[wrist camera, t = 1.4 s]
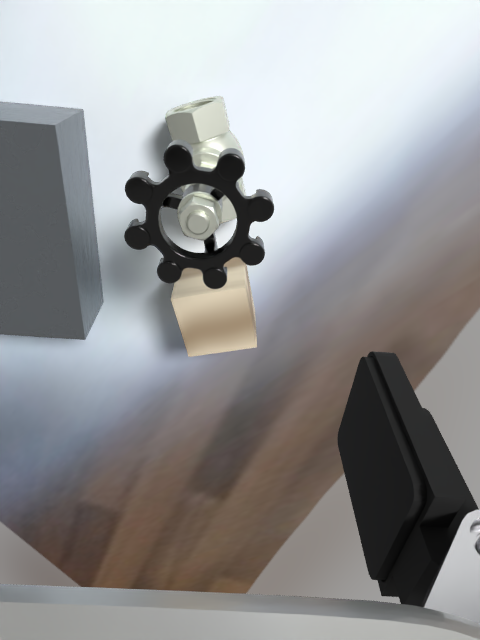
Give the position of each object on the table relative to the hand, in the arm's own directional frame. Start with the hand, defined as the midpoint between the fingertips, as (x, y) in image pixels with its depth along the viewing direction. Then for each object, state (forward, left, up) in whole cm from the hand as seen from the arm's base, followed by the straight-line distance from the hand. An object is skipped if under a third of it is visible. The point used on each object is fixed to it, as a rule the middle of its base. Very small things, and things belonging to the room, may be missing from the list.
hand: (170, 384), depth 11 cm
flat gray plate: (+5, -15, -22) cm, 27 cm away
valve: (0, 0, -22) cm, 22 cm away
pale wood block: (+10, +1, -22) cm, 24 cm away
